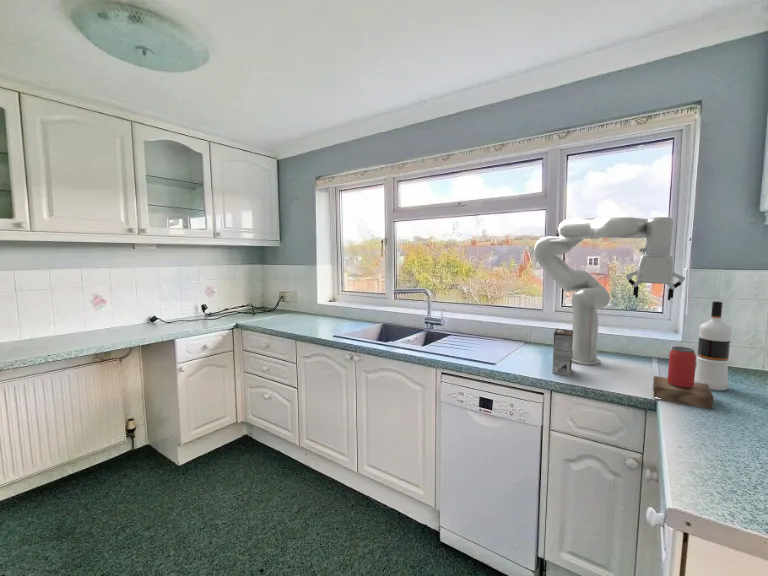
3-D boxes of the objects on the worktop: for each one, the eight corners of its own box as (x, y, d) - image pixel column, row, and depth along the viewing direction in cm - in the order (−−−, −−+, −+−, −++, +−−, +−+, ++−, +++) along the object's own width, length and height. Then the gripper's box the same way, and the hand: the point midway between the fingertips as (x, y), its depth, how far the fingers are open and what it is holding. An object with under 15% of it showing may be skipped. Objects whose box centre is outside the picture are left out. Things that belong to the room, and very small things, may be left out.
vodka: (685, 381, 130) (692, 299, 127) (712, 382, 130) (719, 299, 127) (707, 391, 121) (715, 303, 118) (736, 391, 120) (744, 303, 117)
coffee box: (554, 366, 148) (555, 328, 146) (571, 369, 144) (573, 329, 143) (551, 373, 140) (553, 332, 138) (570, 376, 136) (572, 334, 135)
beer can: (667, 380, 120) (670, 345, 119) (693, 384, 116) (696, 348, 115) (667, 385, 115) (670, 349, 114) (694, 390, 111) (697, 352, 110)
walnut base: (653, 398, 115) (654, 386, 115) (653, 387, 125) (654, 375, 125) (712, 409, 107) (713, 396, 107) (706, 396, 117) (707, 384, 116)
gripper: (627, 251, 132) (623, 297, 134) (688, 252, 122) (683, 302, 124) (628, 251, 138) (624, 295, 140) (687, 252, 128) (682, 299, 130)
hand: (652, 298), depth 132 cm, fingers open, 9 cm apart
